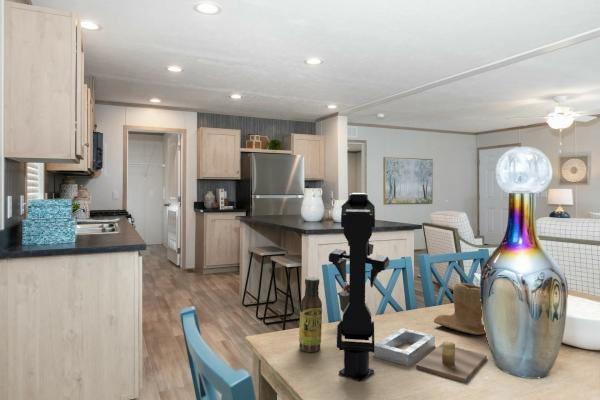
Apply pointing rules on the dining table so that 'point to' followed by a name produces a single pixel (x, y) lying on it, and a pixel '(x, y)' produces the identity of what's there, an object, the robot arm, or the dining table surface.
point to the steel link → (406, 357)
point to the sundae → (344, 297)
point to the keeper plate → (455, 371)
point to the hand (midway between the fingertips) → (358, 284)
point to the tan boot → (464, 310)
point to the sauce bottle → (310, 317)
